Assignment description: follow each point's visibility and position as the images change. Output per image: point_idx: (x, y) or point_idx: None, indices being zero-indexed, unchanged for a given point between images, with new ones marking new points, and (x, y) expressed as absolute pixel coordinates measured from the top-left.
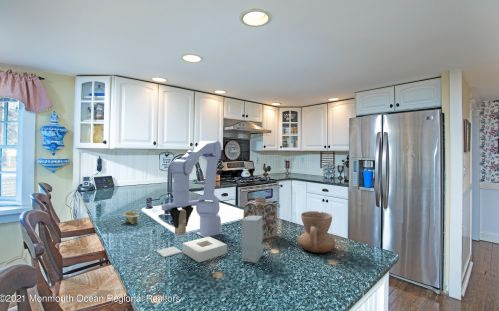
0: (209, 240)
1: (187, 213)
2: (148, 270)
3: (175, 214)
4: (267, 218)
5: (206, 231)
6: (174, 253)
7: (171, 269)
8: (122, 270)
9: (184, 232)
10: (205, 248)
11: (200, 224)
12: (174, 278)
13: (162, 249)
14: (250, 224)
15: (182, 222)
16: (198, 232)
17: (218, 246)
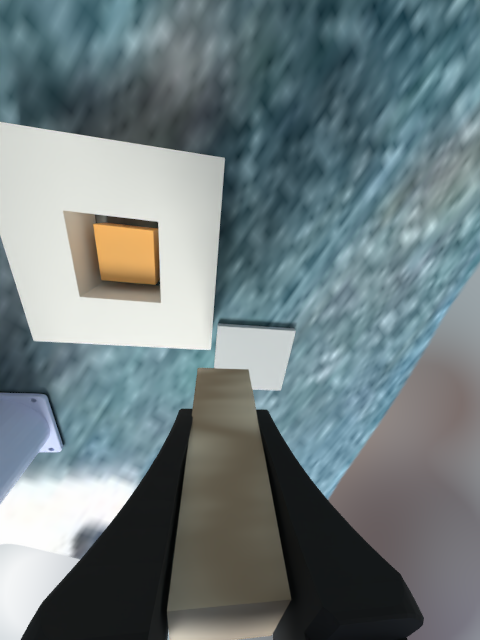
0: (61, 284)
1: (168, 537)
2: (397, 270)
3: (362, 542)
4: None
5: (12, 422)
6: (251, 328)
7: (348, 208)
8: (431, 330)
9: (207, 375)
10: (153, 183)
11: (14, 477)
12: (406, 106)
13: (260, 386)
14: None
15: (225, 440)
16: (49, 448)
17: (49, 136)
